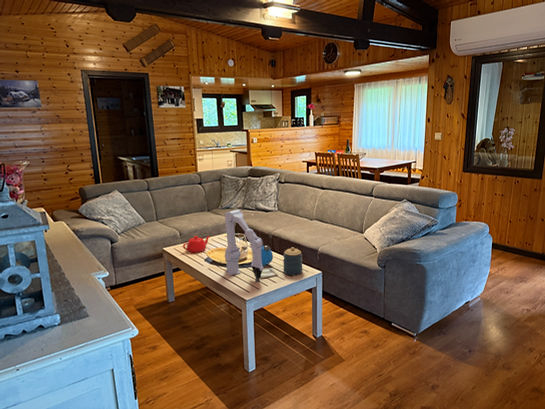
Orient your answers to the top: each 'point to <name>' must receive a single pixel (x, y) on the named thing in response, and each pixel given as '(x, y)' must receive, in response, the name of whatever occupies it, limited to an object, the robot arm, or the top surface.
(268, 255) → the alarm clock
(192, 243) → the teapot
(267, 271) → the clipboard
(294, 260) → the canister
